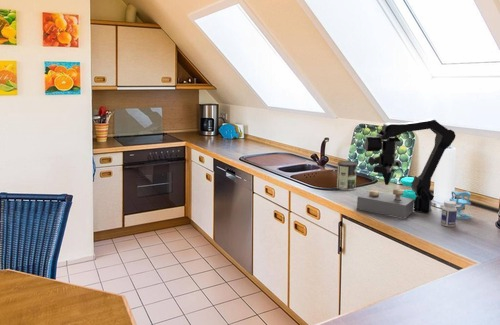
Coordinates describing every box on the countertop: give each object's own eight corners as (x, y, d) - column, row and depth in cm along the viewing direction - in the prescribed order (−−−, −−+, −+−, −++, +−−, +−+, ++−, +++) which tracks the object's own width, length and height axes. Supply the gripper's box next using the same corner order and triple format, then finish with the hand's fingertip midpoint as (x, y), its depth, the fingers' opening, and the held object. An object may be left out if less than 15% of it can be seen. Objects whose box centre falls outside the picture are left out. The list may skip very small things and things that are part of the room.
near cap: (403, 204, 196) (404, 189, 195) (400, 206, 193) (401, 192, 192) (394, 202, 199) (395, 188, 198) (390, 204, 196) (391, 190, 194)
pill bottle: (456, 224, 183) (458, 201, 181) (454, 228, 178) (457, 205, 176) (441, 221, 185) (443, 199, 183) (439, 225, 181) (441, 202, 179)
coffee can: (354, 185, 242) (356, 161, 239) (356, 190, 232) (357, 165, 229) (336, 185, 244) (337, 160, 241) (336, 189, 234) (338, 164, 231)
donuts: (400, 176, 224) (420, 177, 221) (398, 194, 226) (418, 196, 223) (402, 180, 214) (423, 182, 212) (400, 200, 216) (421, 201, 214)
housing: (412, 211, 198) (413, 199, 197) (404, 218, 189) (405, 205, 188) (366, 202, 211) (367, 191, 210) (356, 208, 202) (357, 196, 201)
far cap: (379, 204, 203) (380, 191, 202) (376, 207, 200) (377, 193, 199) (370, 203, 206) (371, 189, 205) (367, 205, 203) (367, 191, 201)
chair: (463, 213, 197) (465, 187, 194) (471, 219, 189) (474, 192, 186) (445, 213, 197) (448, 187, 195) (453, 219, 189) (456, 192, 186)
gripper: (379, 146, 206) (377, 178, 210) (362, 152, 192) (361, 186, 195) (402, 148, 200) (400, 181, 203) (387, 155, 185) (385, 190, 189)
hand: (386, 184), depth 198 cm, fingers closed
